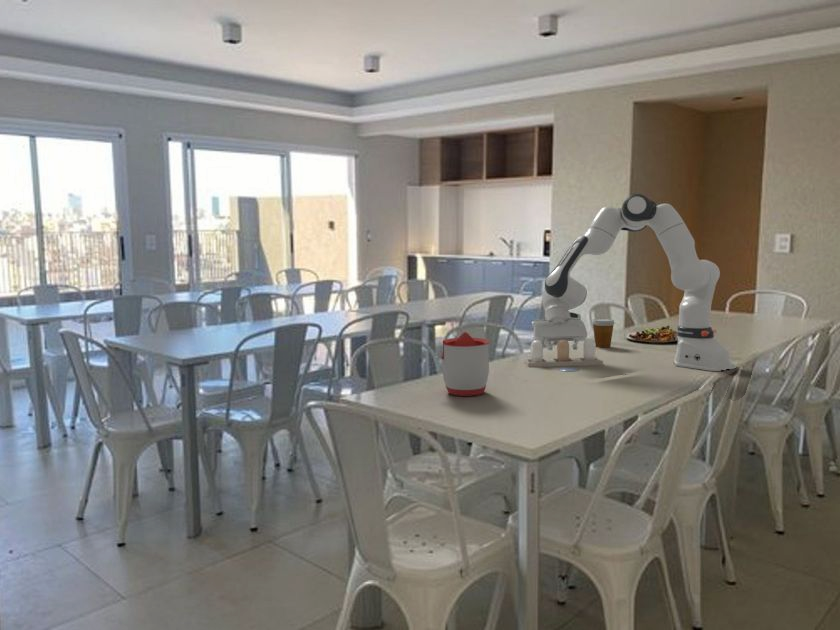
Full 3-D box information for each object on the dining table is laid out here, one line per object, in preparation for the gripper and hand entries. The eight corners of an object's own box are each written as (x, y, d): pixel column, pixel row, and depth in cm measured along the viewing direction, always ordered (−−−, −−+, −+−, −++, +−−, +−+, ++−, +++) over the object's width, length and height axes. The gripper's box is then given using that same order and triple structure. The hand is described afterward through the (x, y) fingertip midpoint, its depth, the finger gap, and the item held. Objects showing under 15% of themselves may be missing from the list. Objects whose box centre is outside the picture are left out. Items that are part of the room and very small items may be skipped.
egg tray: (598, 363, 270) (598, 357, 269) (604, 367, 262) (604, 361, 261) (523, 365, 269) (523, 359, 268) (526, 369, 261) (526, 363, 260)
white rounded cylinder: (597, 363, 265) (598, 339, 263) (589, 364, 262) (589, 340, 261) (589, 361, 268) (589, 337, 267) (580, 362, 266) (581, 338, 265)
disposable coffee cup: (596, 344, 312) (596, 317, 310) (617, 346, 306) (617, 318, 305) (588, 347, 304) (588, 320, 303) (609, 349, 299) (609, 321, 297)
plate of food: (661, 333, 339) (661, 321, 338) (702, 341, 313) (702, 328, 312) (612, 339, 330) (612, 327, 329) (650, 348, 304) (650, 334, 303)
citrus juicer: (436, 387, 236) (435, 328, 233) (488, 386, 235) (487, 328, 233) (436, 399, 220) (435, 336, 218) (491, 398, 220) (491, 335, 217)
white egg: (545, 364, 264) (545, 340, 263) (536, 366, 262) (536, 341, 261) (537, 362, 268) (537, 338, 267) (528, 364, 265) (528, 340, 264)
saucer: (584, 373, 253) (584, 369, 253) (567, 376, 249) (567, 372, 249) (568, 369, 260) (568, 366, 260) (552, 372, 256) (552, 369, 256)
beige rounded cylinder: (571, 363, 264) (571, 339, 263) (562, 365, 262) (563, 341, 261) (563, 362, 268) (563, 338, 267) (554, 363, 266) (554, 339, 265)
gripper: (531, 315, 270) (536, 344, 262) (584, 314, 271) (591, 343, 262) (529, 325, 275) (534, 354, 267) (581, 324, 276) (587, 353, 267)
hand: (562, 349), depth 265 cm, fingers open, 8 cm apart
